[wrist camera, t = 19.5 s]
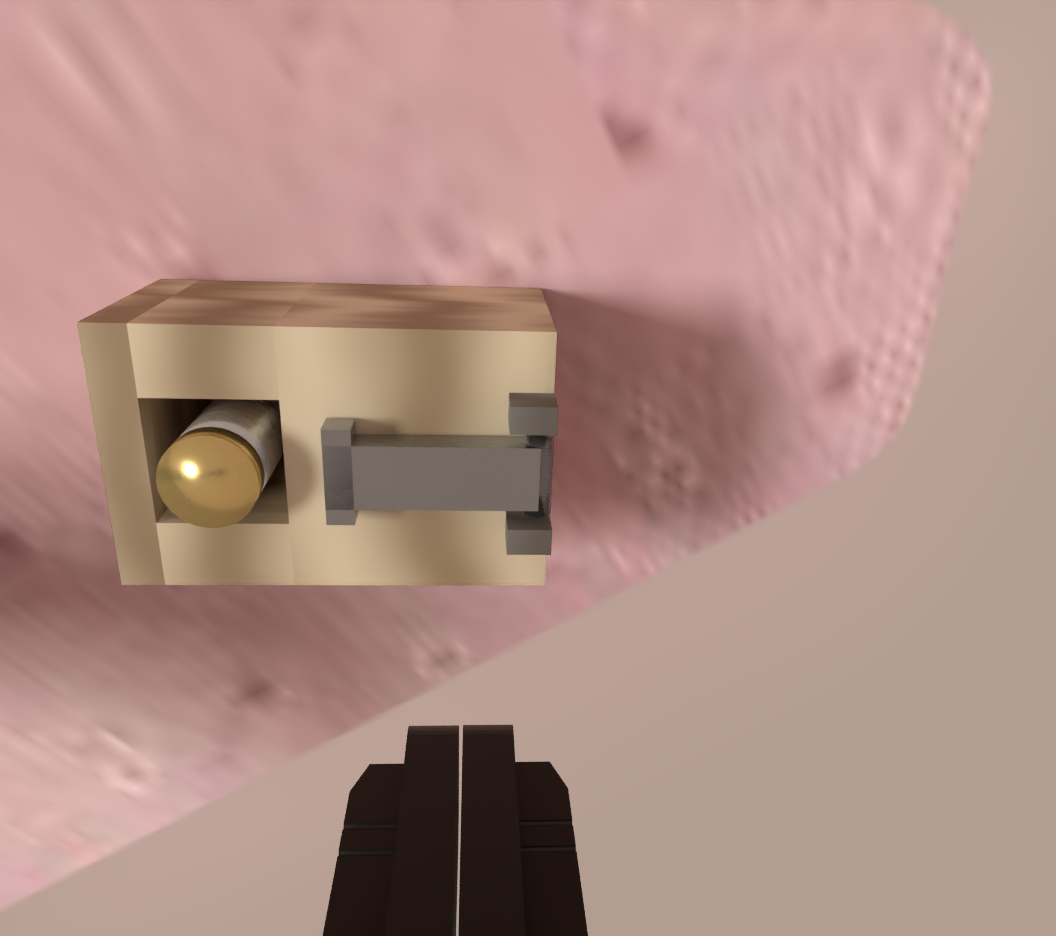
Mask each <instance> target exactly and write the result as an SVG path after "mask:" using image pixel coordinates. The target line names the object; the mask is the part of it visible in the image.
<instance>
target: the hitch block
mask: <svg viewBox="0 0 1056 936" xmlns="http://www.w3.org/2000/svg"><path fill="white" fill-rule="evenodd" d="M77 326H78V332H79V337H80V343H81V349H82V355H83V361H84V367H85V373H86V378H87V384H88V390H89V396H90V402H91V408H92V414H93V420H94V425H95V431H96V437H97V443H98V449H99V455H100V461H101V467H102V472H103V478H104V484H105V490H106V496H107V502H108V508H109V514H110V519H111V525H112V531H113V537H114V543H115V549H116V555H117V561H118V566H119V572H120V578H121V584H122V585H545V575H546V555H551V542H552V527H551V522H550V516H549V515H548V516H546V517H541V518H535V517H530V516H527V515H525V514H524V513H523V511H424V510H359V513H358V517H357V520H356V524H355V525H326V510H325V494H324V478H323V462H322V447H321V431H320V429H321V427H322V425H323V423H324V421H325V419H326V418H355V429H356V434H373V435H453V436H526V435H551V436H557V421H558V405H557V402H556V398H555V395H554V386H555V365H556V344H557V331H556V328H555V325H554V322H553V320H552V317H551V314H550V312H549V309H548V306H547V304H546V301H545V298H544V296H543V293H542V290H541V288H503V287H461V286H419V285H376V284H334V283H292V282H249V281H207V280H165V279H160V280H158V281H156V282H154V283H152V284H150V285H148V286H146V287H144V288H142V289H140V290H138V291H136V292H134V293H133V294H131V295H129V296H127V297H125V298H123V299H121V300H119V301H117V302H115V303H113V304H111V305H109V306H107V307H106V308H104V309H102V310H100V311H98V312H96V313H94V314H92V315H90V316H88V317H86V318H84V319H82V320H80V321H79V322H77ZM212 399H244V400H279V404H280V416H281V429H282V441H283V454H282V456H281V458H280V460H279V462H278V463H277V465H276V467H275V469H274V470H273V472H272V474H271V476H270V478H269V479H268V481H267V483H266V485H265V487H264V488H263V490H262V492H261V494H260V496H259V497H258V499H257V501H256V503H255V504H254V506H253V508H252V509H251V511H250V512H249V513H248V514H247V515H246V516H245V517H244V518H243V519H241V520H240V521H238V522H237V523H234V524H232V525H229V526H226V527H221V528H205V527H199V526H196V525H193V524H190V523H188V522H186V521H184V520H182V519H180V518H179V517H177V516H176V515H175V514H174V513H173V512H171V511H170V509H169V508H168V507H167V506H166V505H165V503H164V502H163V500H162V499H161V497H160V494H159V492H158V489H157V485H156V470H157V466H158V463H159V461H160V459H161V457H162V456H163V454H164V453H165V452H166V451H167V450H168V448H169V447H170V446H171V445H172V444H173V443H174V442H175V441H176V440H177V439H178V437H179V436H180V435H181V434H182V433H183V432H184V431H185V430H186V429H187V428H188V427H189V425H190V424H191V423H192V422H193V421H194V420H195V419H196V418H197V417H198V416H199V415H200V413H201V412H202V411H203V410H204V409H205V408H206V407H207V406H208V405H209V404H210V402H211V401H212Z"/></svg>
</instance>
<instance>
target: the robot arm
mask: <svg viewBox="0 0 1056 936" xmlns="http://www.w3.org/2000/svg"><path fill="white" fill-rule="evenodd" d="M461 804H462V805H461V850H460V851H461V852H460V895H459V896H460V897H459V936H588V933H587V925H586V918H585V911H584V903H583V897H582V889H581V881H580V874H579V867H578V860H577V852H576V844H575V837H574V830H573V826H572V815H571V808H570V801H569V793H568V788H567V786H566V785H565V783H564V782H563V781H562V779H561V778H560V776H559V775H558V773H557V772H556V770H555V769H554V768H553V766H552V764H551V763H550V762H515V752H514V734H513V725H464V726H463V757H462V803H461ZM458 820H459V726H409V728H408V734H407V743H406V751H405V761H404V764H370V765H369V766H368V767H367V769H366V770H365V772H364V773H363V774H362V776H361V777H360V778H359V780H358V781H357V782H356V784H355V785H354V787H353V788H352V789H351V791H350V793H349V798H348V804H347V809H346V814H345V820H344V829H343V830H342V836H341V841H340V847H339V856H338V857H337V862H336V868H335V873H334V879H333V884H332V890H331V894H330V900H329V905H328V910H327V916H326V921H325V926H324V932H323V936H456V911H457V870H458V822H459V821H458Z"/></svg>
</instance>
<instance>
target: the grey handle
mask: <svg viewBox="0 0 1056 936" xmlns="http://www.w3.org/2000/svg"><path fill="white" fill-rule="evenodd" d="M320 431H321V447H322V462H323V478H324V494H325V510H326V525H355V524H356V520H357V517H358V513H359V510H424V511H523V513H524V514H525V515H527V516H530V517H535V518H541V517H546V516H548V515H549V514H550V511H551V491H552V470H553V450H554V436H551V435H526V436H453V435H373V434H356V429H355V418H326V419H325V421H324V423H323V425H322V427H321V429H320Z"/></svg>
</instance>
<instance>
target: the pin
mask: <svg viewBox="0 0 1056 936" xmlns="http://www.w3.org/2000/svg"><path fill="white" fill-rule="evenodd" d="M282 454H283V441H282V429H281V416H280V404H279V400H244V399H213V400H212V401H211V402H210V404H209V405H208V406H207V407H206V408H205V409H204V410H203V411H202V412H201V413H200V415H199V416H198V417H197V418H196V419H195V420H194V421H193V422H192V423H191V424H190V425H189V427H188V428H187V429H186V430H185V431H184V432H183V433H182V434H181V435H180V436H179V437H178V439H177V440H176V441H175V442H174V443H173V444H172V445H171V446H170V447H169V448H168V450H167V451H166V452H165V453H164V454H163V456H162V457H161V459H160V461H159V463H158V466H157V470H156V485H157V489H158V492H159V494H160V497H161V499H162V500H163V502H164V503H165V505H166V506H167V507H168V508H169V509H170V511H171V512H173V513H174V514H175V515H176V516H177V517H179V518H180V519H182V520H184V521H186V522H188V523H190V524H193V525H196V526H199V527H205V528H221V527H226V526H229V525H232V524H234V523H237V522H238V521H240V520H241V519H243V518H244V517H245V516H246V515H247V514H248V513H249V512H250V511H251V509H252V508H253V506H254V504H255V503H256V501H257V499H258V497H259V496H260V494H261V492H262V490H263V488H264V487H265V485H266V483H267V481H268V479H269V478H270V476H271V474H272V472H273V470H274V469H275V467H276V465H277V463H278V462H279V460H280V458H281V456H282Z"/></svg>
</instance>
